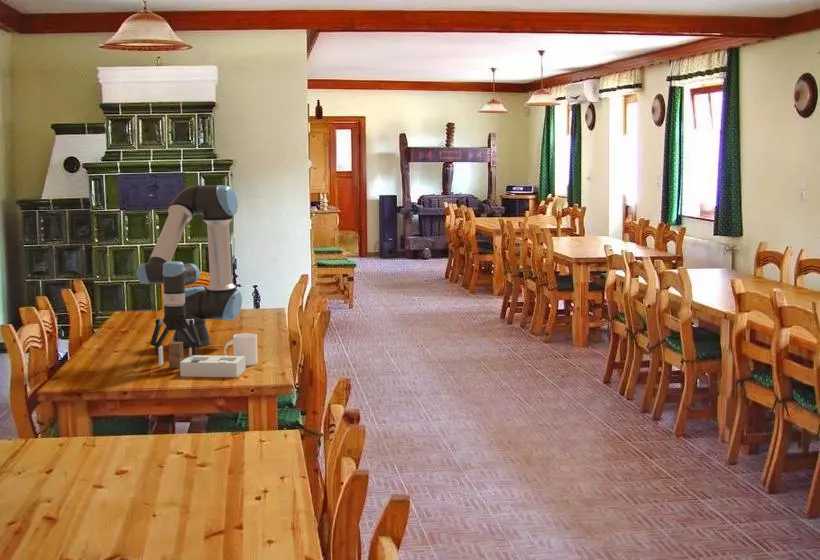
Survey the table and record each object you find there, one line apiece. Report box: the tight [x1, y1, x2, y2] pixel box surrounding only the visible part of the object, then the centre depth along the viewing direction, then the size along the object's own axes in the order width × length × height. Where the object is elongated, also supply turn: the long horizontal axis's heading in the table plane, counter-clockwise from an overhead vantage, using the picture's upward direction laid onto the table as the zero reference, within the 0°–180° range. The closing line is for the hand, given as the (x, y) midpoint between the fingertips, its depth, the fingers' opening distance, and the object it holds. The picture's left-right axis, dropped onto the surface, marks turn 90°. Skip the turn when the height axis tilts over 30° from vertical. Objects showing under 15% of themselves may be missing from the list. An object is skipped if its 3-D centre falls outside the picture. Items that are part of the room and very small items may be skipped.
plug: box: [168, 342, 185, 369], centre depth 346 cm, size 4×4×9 cm
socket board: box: [179, 354, 247, 378], centre depth 337 cm, size 12×20×5 cm, turn 85°
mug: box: [223, 332, 258, 367], centre depth 351 cm, size 9×12×11 cm
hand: (176, 364), depth 347 cm, fingers open, 11 cm apart
